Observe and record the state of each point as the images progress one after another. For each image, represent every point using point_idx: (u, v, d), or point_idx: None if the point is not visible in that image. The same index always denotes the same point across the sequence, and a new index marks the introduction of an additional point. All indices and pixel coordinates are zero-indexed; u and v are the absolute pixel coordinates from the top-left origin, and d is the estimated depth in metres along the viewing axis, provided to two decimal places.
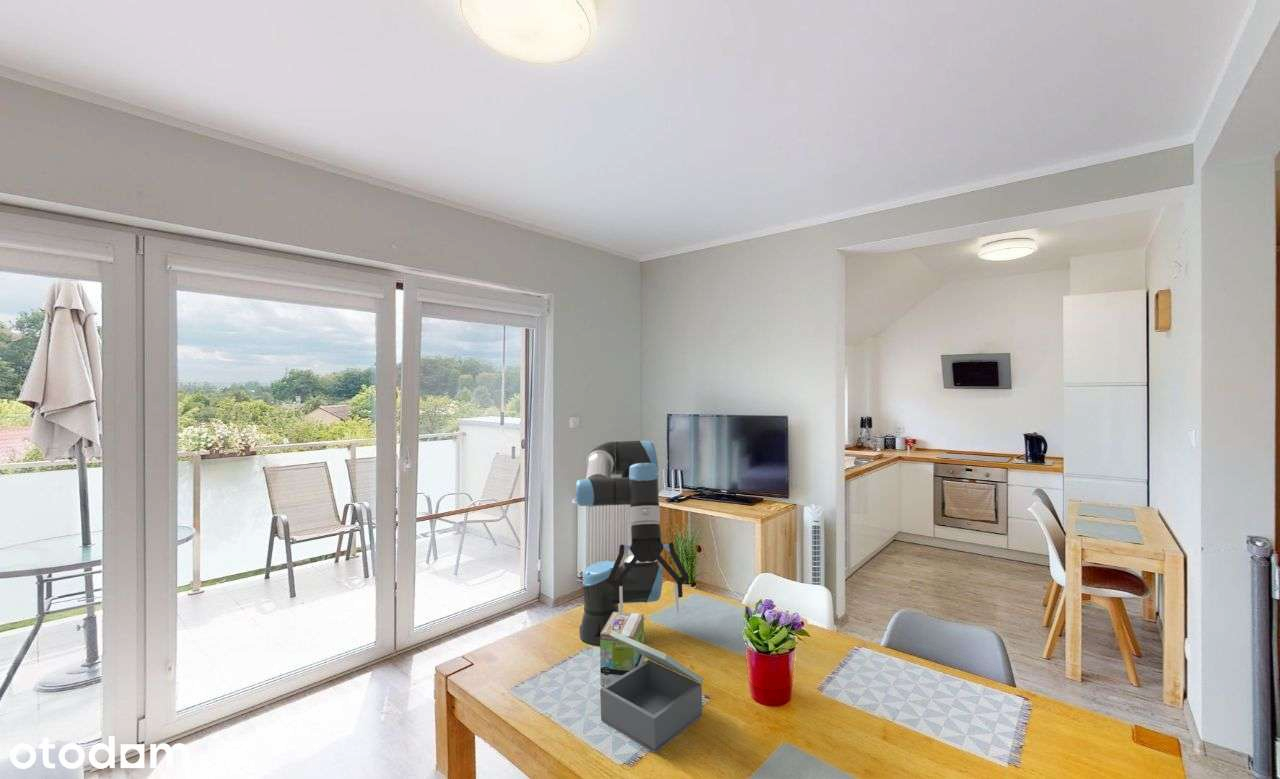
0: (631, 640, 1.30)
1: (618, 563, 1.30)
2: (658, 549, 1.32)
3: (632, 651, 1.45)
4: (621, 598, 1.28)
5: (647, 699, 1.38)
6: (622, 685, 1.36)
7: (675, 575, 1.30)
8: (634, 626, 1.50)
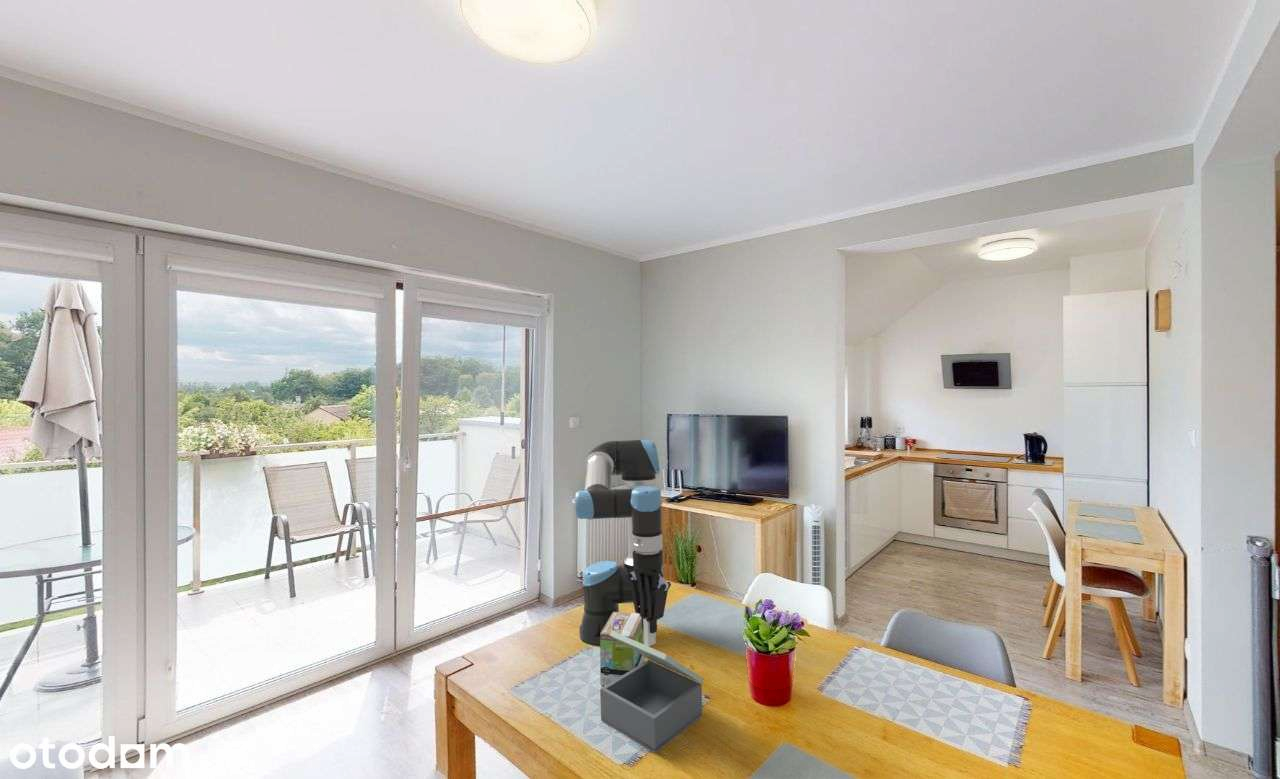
0: (631, 640, 1.30)
1: (633, 592, 1.33)
2: (652, 578, 1.29)
3: (632, 651, 1.45)
4: (645, 630, 1.31)
5: (647, 699, 1.38)
6: (622, 685, 1.36)
7: (650, 612, 1.30)
8: (634, 626, 1.50)
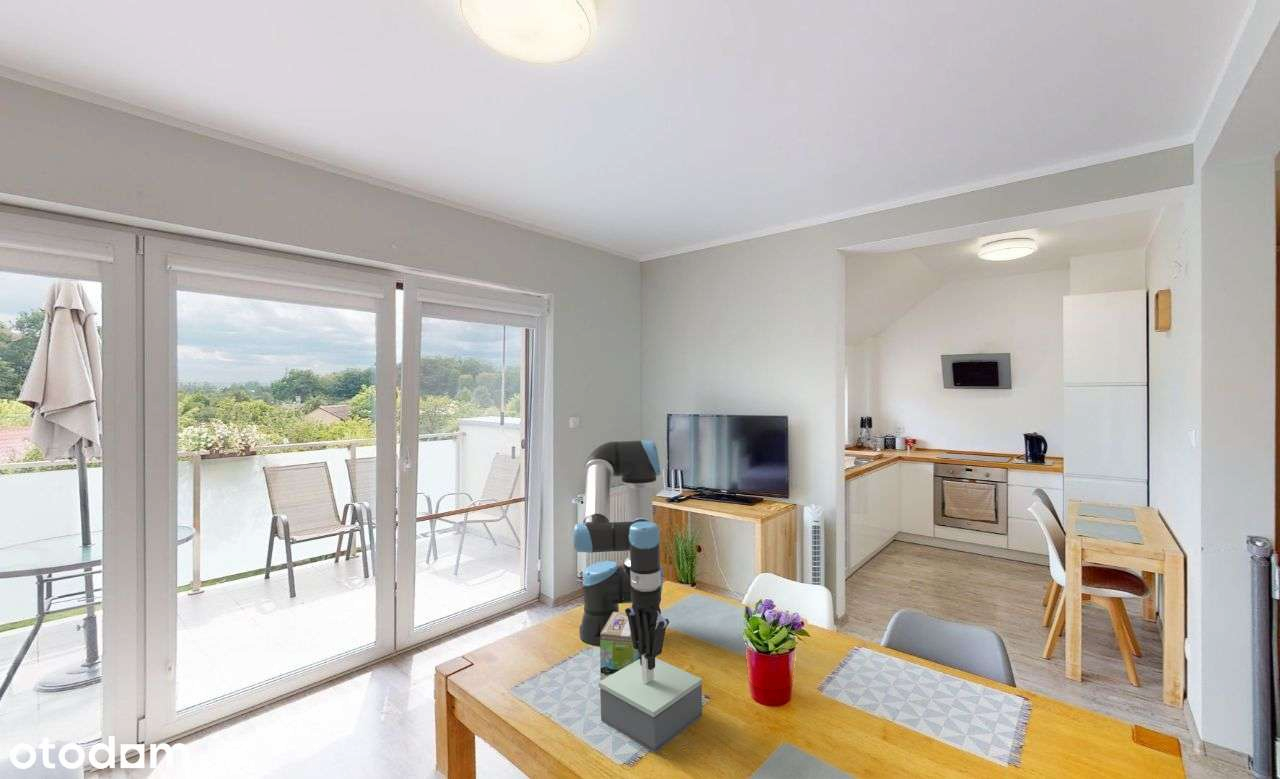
0: (618, 694, 1.26)
1: (632, 627, 1.33)
2: (651, 615, 1.28)
3: (632, 651, 1.45)
4: (643, 666, 1.30)
5: None
6: None
7: (648, 648, 1.29)
8: None
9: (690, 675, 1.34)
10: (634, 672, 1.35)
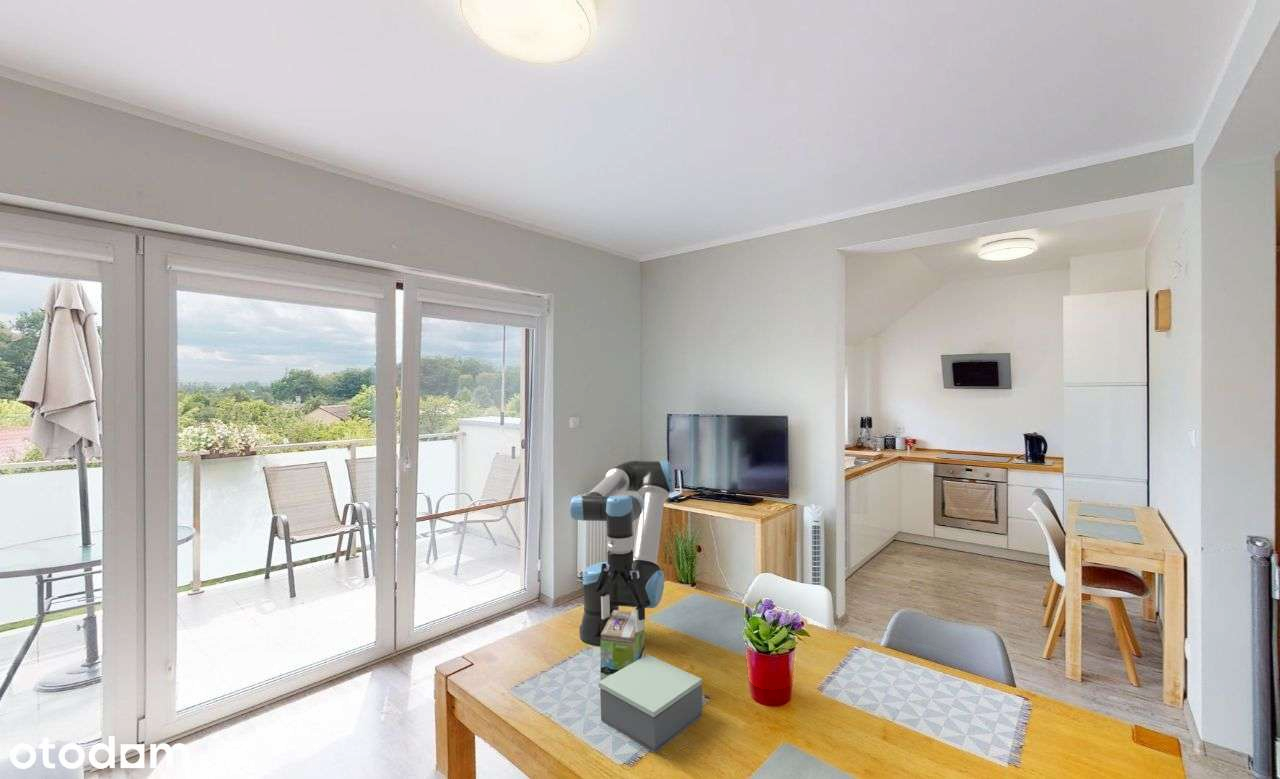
0: (618, 694, 1.26)
1: (600, 578, 1.56)
2: (625, 575, 1.49)
3: (632, 652, 1.44)
4: (602, 606, 1.55)
5: None
6: None
7: (635, 601, 1.46)
8: None
9: (690, 675, 1.34)
10: (634, 672, 1.35)
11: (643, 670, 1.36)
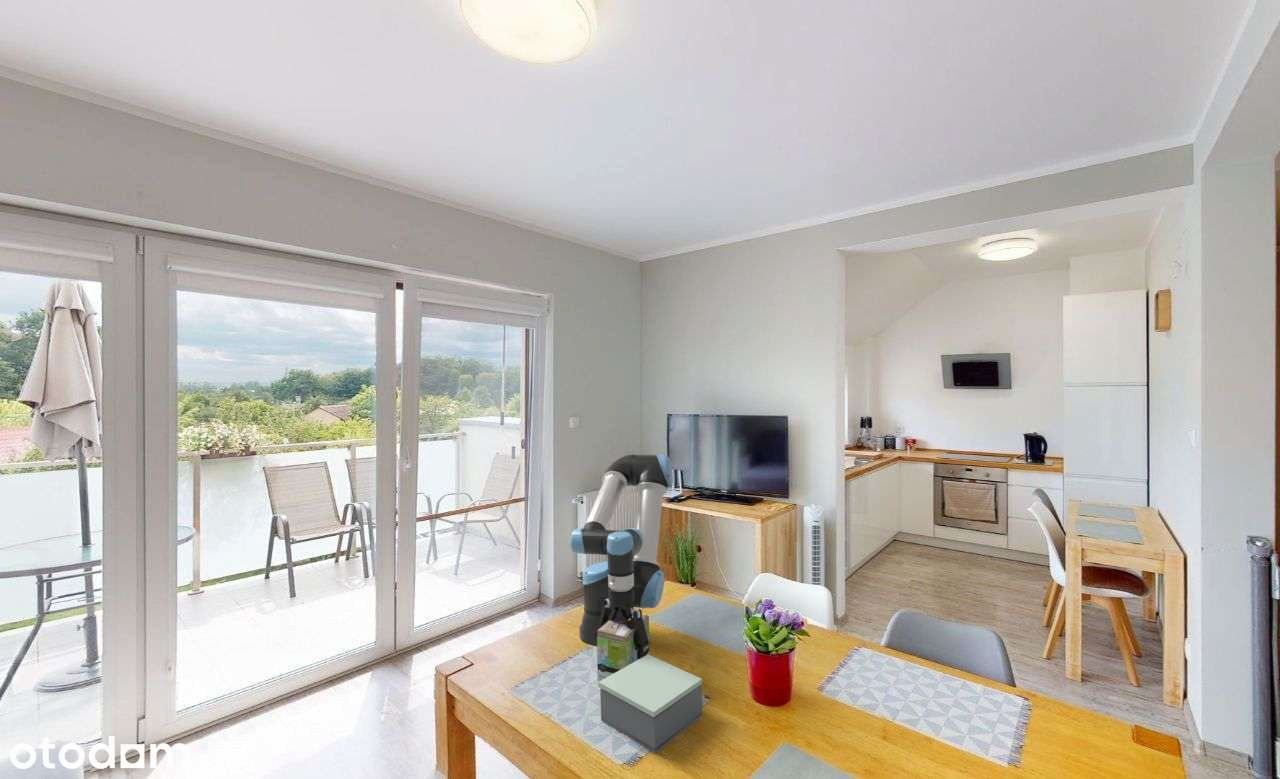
0: (618, 694, 1.26)
1: (602, 615, 1.56)
2: (626, 613, 1.50)
3: (626, 651, 1.45)
4: None
5: None
6: None
7: (635, 640, 1.47)
8: None
9: (690, 675, 1.34)
10: (634, 672, 1.35)
11: (643, 670, 1.36)
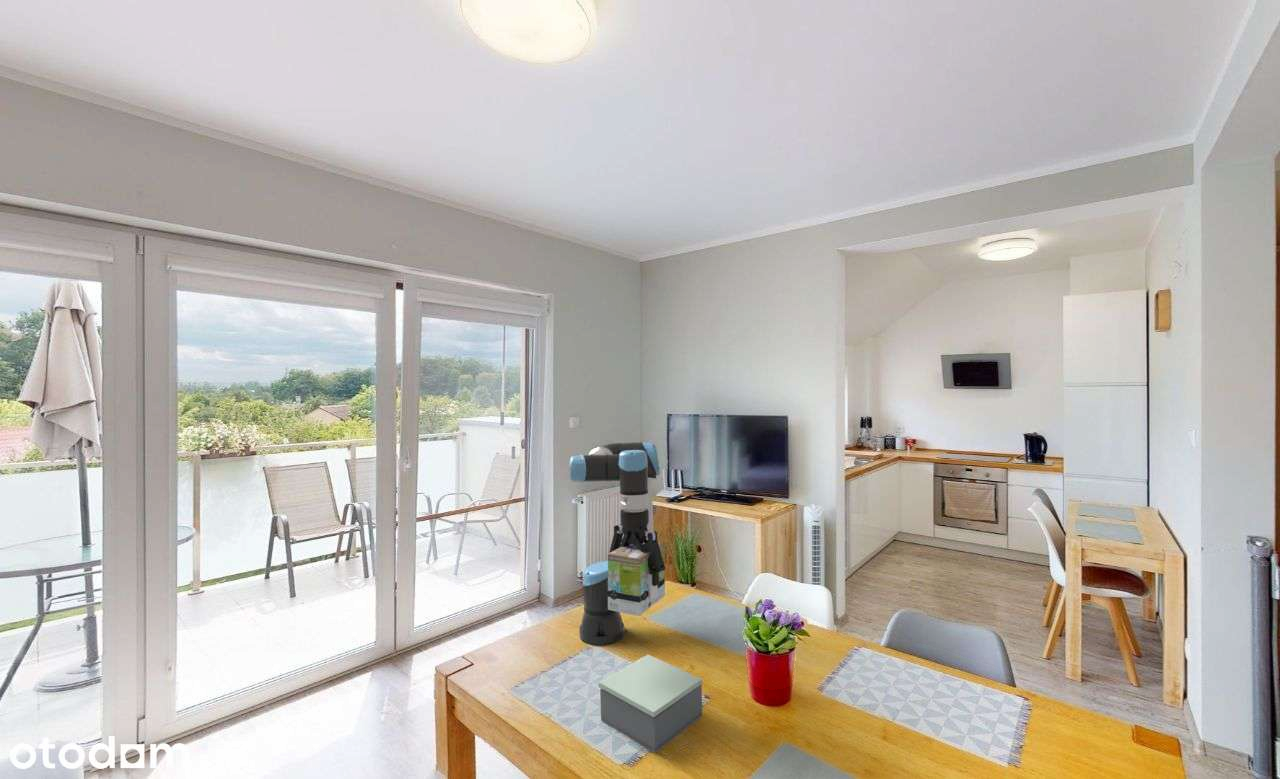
0: (618, 694, 1.26)
1: (614, 542, 1.43)
2: (639, 535, 1.36)
3: (639, 575, 1.31)
4: None
5: None
6: None
7: (649, 565, 1.34)
8: None
9: (690, 675, 1.34)
10: (634, 672, 1.35)
11: (643, 670, 1.36)
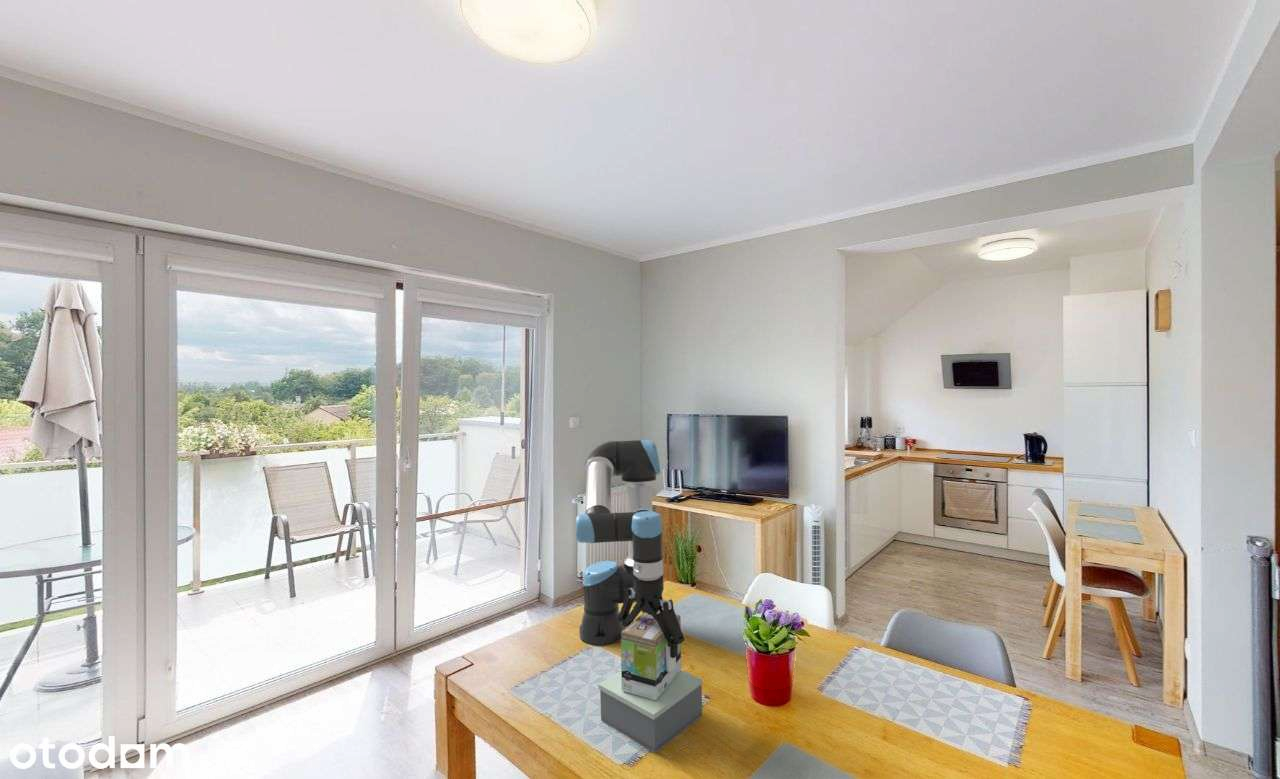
0: (618, 696, 1.26)
1: (625, 606, 1.36)
2: (654, 605, 1.29)
3: (655, 657, 1.23)
4: None
5: None
6: None
7: (667, 636, 1.26)
8: None
9: (690, 675, 1.34)
10: None
11: None
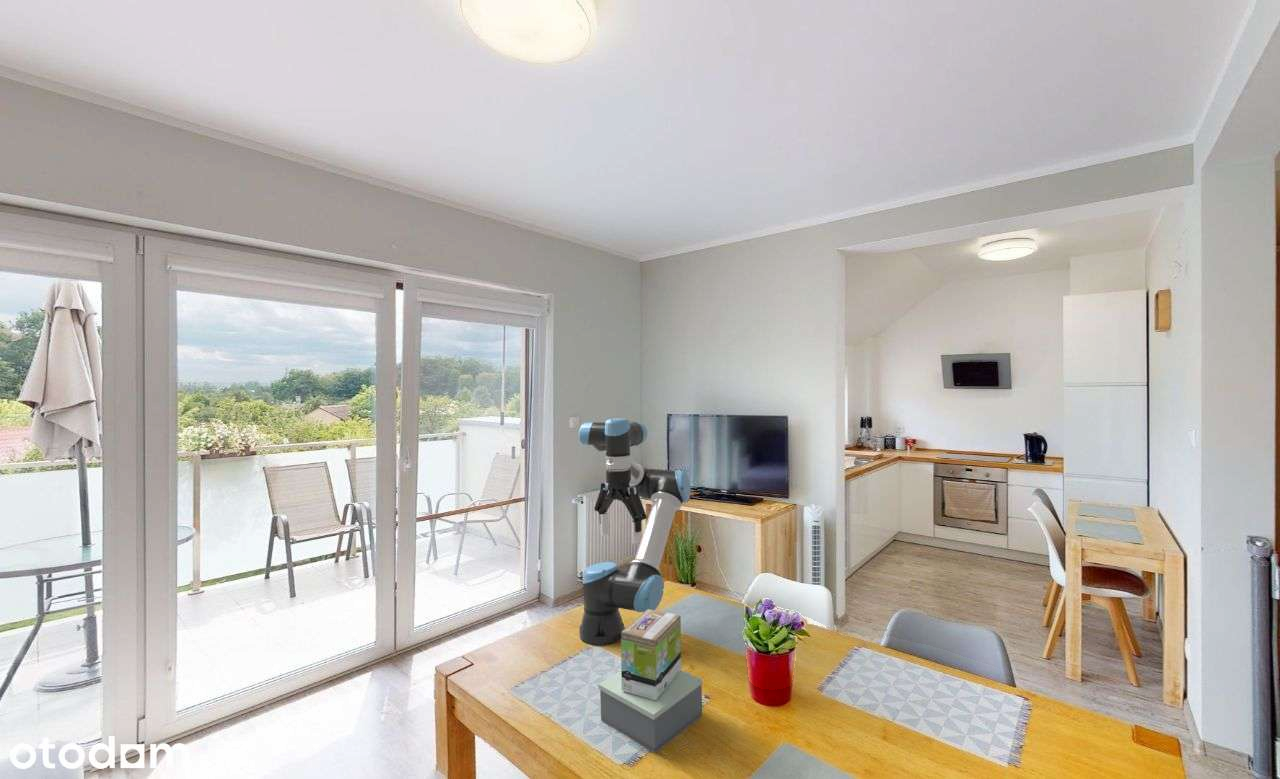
0: (618, 696, 1.26)
1: (600, 497, 1.65)
2: (623, 491, 1.58)
3: (655, 657, 1.23)
4: (601, 523, 1.64)
5: None
6: None
7: (632, 514, 1.55)
8: (663, 628, 1.28)
9: (690, 675, 1.34)
10: None
11: None
